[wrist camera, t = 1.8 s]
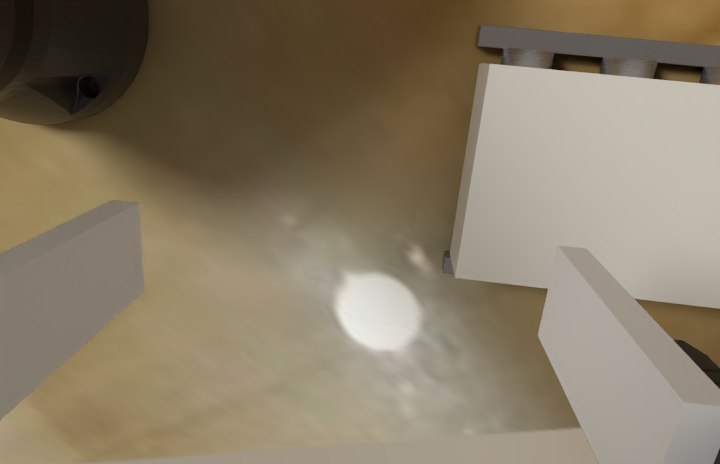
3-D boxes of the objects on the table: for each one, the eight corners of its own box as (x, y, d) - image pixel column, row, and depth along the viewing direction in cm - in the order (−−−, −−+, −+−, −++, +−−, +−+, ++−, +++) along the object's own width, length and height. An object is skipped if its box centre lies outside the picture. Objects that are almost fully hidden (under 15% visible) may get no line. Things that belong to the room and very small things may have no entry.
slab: (449, 253, 34) (455, 277, 30) (479, 63, 30) (489, 63, 26) (730, 285, 33) (772, 314, 29) (798, 93, 29) (857, 98, 25)
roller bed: (870, 315, 36) (910, 337, 33) (442, 266, 38) (444, 283, 35) (983, 71, 31) (1042, 72, 28) (478, 26, 32) (485, 22, 29)
